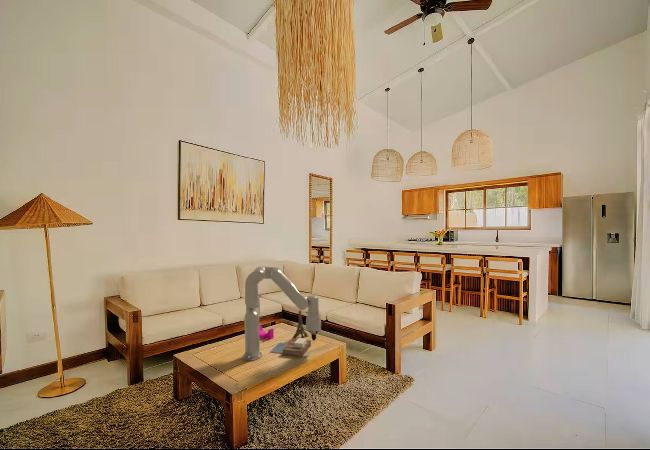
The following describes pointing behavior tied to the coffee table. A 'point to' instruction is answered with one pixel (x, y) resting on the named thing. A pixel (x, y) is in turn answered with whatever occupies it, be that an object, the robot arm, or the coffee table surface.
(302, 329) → the eiffel tower
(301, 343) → the beige rectangular block
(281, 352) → the mat
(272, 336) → the toy block
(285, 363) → the coffee table surface
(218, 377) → the coffee table surface
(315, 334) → the robot arm
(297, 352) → the deck
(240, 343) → the coffee table surface
